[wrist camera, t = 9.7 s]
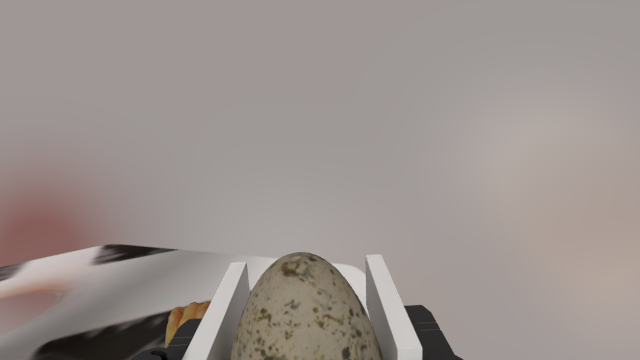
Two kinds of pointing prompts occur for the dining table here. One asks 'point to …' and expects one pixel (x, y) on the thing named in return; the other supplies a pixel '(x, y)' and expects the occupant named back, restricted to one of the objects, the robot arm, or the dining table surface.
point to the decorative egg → (304, 315)
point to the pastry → (184, 317)
